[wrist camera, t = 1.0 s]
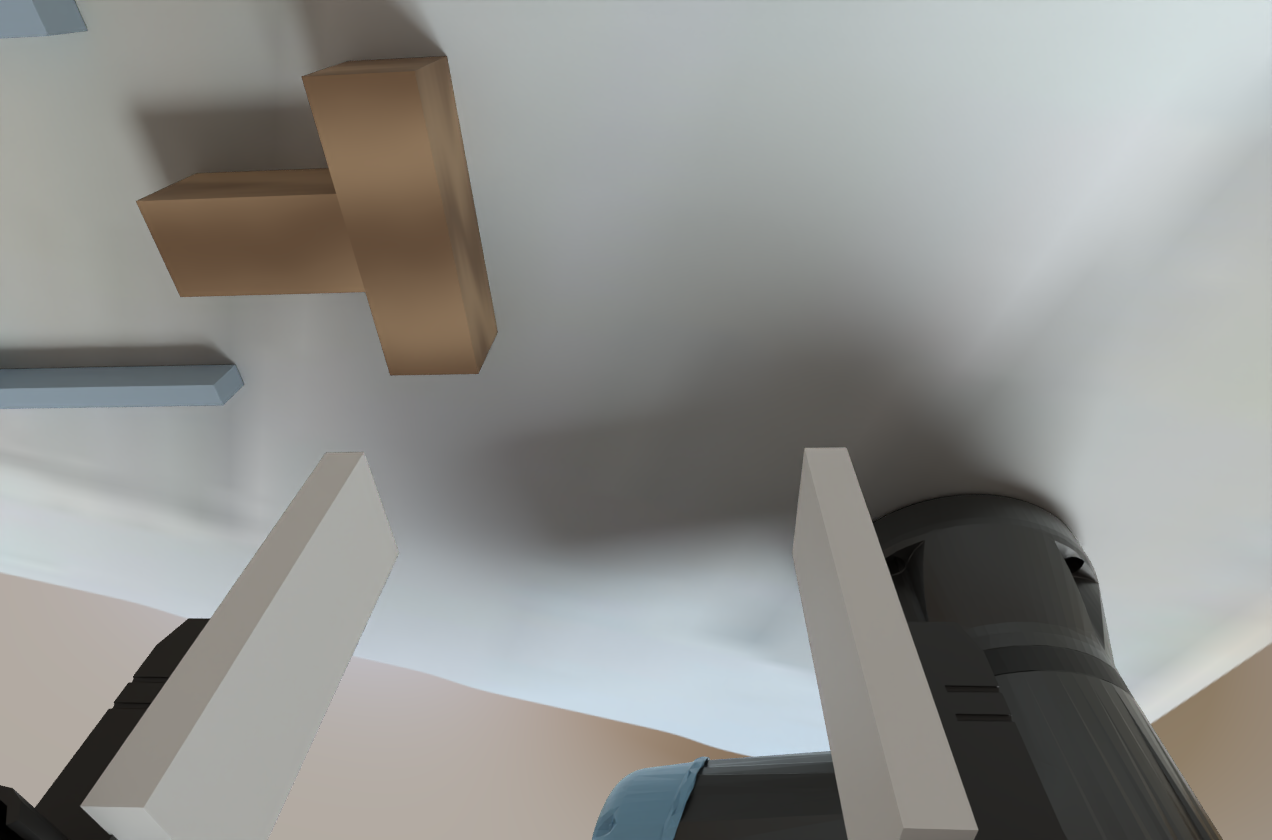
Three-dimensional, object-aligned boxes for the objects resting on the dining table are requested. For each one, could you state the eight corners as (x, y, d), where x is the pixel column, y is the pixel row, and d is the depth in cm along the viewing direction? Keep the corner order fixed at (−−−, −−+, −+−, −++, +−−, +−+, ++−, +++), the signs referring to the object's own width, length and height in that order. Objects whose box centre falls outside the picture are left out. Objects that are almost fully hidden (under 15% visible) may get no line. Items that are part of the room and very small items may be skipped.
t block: (497, 331, 33) (478, 373, 30) (262, 337, 34) (218, 378, 31) (446, 56, 26) (414, 70, 23) (154, 70, 27) (82, 87, 24)
